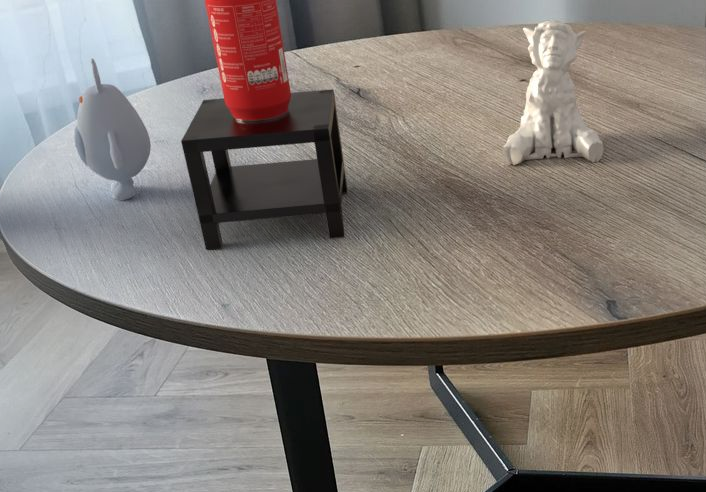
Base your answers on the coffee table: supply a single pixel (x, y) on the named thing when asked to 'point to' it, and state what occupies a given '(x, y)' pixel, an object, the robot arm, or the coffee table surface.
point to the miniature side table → (266, 165)
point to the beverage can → (250, 58)
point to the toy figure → (111, 136)
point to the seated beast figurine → (552, 101)
